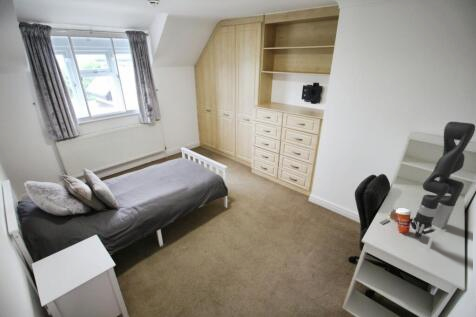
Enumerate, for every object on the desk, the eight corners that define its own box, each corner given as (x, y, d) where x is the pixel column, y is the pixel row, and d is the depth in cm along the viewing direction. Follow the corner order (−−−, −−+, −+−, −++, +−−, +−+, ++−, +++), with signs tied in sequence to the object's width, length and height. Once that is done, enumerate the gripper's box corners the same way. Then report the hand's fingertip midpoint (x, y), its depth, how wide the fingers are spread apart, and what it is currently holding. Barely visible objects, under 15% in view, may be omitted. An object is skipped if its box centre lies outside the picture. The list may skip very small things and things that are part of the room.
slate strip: (386, 219, 152) (386, 218, 151) (389, 221, 150) (389, 220, 150) (379, 222, 148) (379, 222, 148) (382, 224, 146) (382, 223, 146)
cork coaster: (392, 214, 158) (392, 213, 157) (404, 220, 151) (404, 219, 151) (385, 217, 154) (385, 216, 154) (397, 223, 147) (397, 223, 147)
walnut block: (391, 215, 156) (393, 209, 154) (400, 218, 152) (401, 212, 150) (389, 218, 152) (391, 212, 151) (398, 221, 149) (400, 215, 147)
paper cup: (395, 232, 139) (394, 211, 137) (397, 227, 144) (396, 207, 143) (410, 235, 133) (410, 213, 132) (412, 230, 139) (412, 209, 137)
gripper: (443, 216, 123) (433, 241, 129) (416, 205, 133) (408, 228, 140) (437, 220, 119) (427, 246, 125) (409, 208, 130) (401, 232, 136)
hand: (417, 236), depth 133 cm, fingers closed
